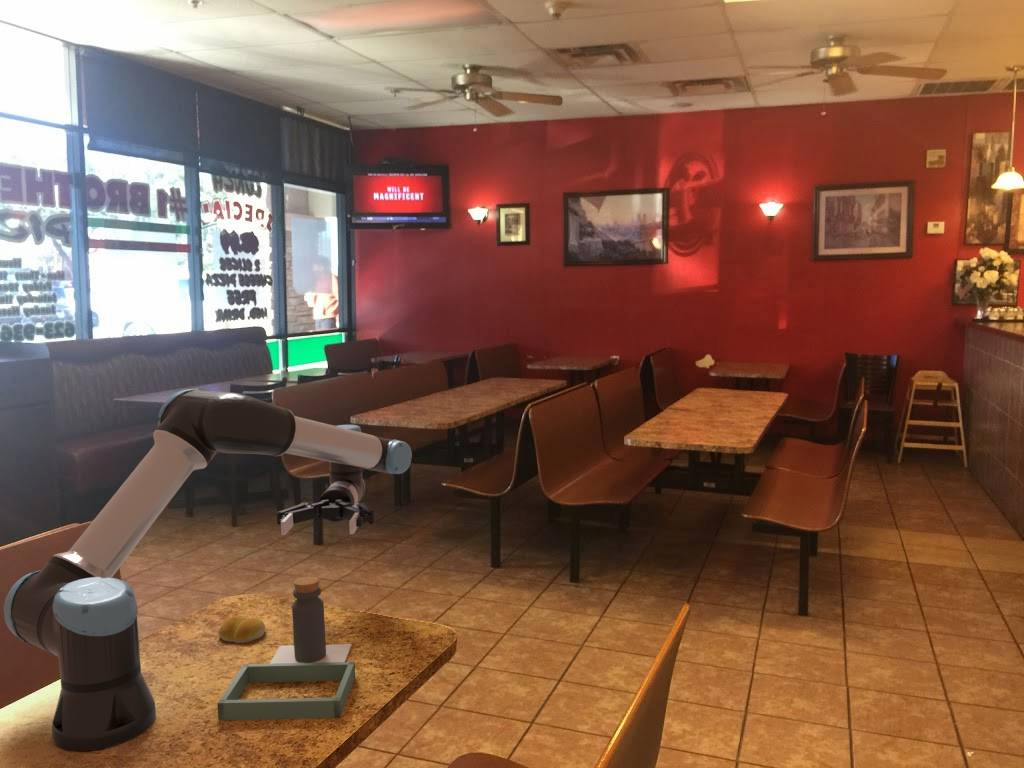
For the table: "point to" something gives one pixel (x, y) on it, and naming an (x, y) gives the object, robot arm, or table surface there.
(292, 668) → the green rectangular frame
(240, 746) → the table surface
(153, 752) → the table surface
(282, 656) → the tile
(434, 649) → the table surface
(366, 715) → the table surface
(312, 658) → the bottle
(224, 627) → the bread roll
